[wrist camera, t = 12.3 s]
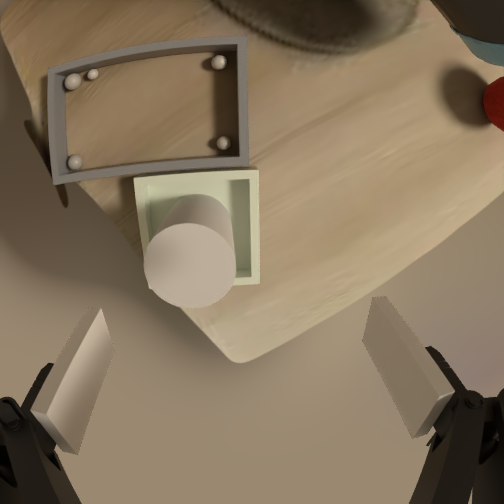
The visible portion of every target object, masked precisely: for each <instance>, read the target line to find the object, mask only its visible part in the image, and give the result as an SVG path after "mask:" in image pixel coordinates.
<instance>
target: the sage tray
mask: <svg viewBox="0 0 504 504" xmlns="http://www.w3.org/2000/svg"><path fill="white" fill-rule="evenodd" d="M134 188H135V197H136V206H137V214H138V222H139V229H140V236H141V243H142V249H143V256H144V255H145V252H146V249H147V247H148V245H149V243H150V242H151V240H152V238H153V237H154V235H155V233H156V232H157V230H158V228H159V227H160V225H161V224H162V222H163V220H164V219H165V217H166V215H167V214H168V212H169V211H170V209H171V208H172V206H173V205H174V204H175V203H176V202H177V201H178V200H180V199H181V198H183V197H185V196H188V195H192V194H205V195H209V196H211V197H214V198H215V199H217V200H219V201H220V202H221V203H222V204H223V205H224V206H225V207H226V209H227V211H228V212H229V215H230V218H231V223H232V232H233V241H234V250H235V259H236V276H235V279H234V282H233V285H247V284H260V251H259V172H258V169H257V168H256V167H232V168H212V169H195V170H181V171H169V172H157V173H147V174H140V175H138V176H136V177H134ZM148 284H149V283H148ZM149 288H150V289H152V288H151V287H150V285H149Z"/></svg>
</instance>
